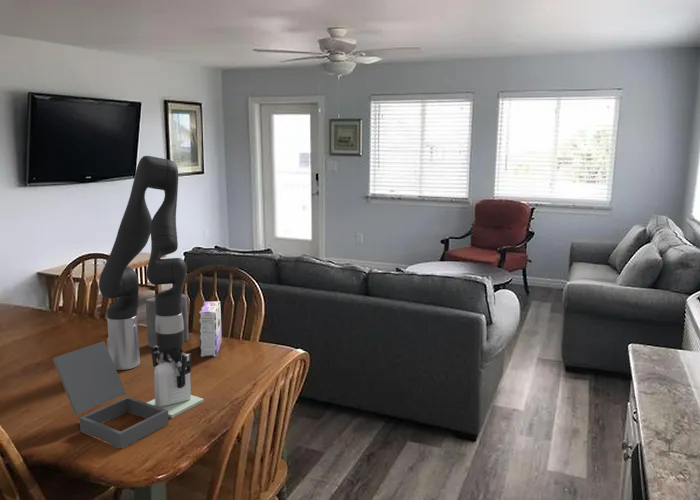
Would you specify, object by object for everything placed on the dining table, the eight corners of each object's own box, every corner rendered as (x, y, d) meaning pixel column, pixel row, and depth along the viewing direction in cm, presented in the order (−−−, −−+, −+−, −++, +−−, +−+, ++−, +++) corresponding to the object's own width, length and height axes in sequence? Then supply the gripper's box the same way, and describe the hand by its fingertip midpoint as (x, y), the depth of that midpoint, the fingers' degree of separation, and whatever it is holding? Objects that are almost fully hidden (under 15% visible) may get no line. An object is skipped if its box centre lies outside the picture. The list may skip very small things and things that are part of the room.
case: (80, 432, 151) (79, 417, 150) (128, 409, 163) (127, 396, 163) (121, 449, 143) (120, 434, 142) (168, 424, 155) (167, 410, 155)
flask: (185, 336, 224) (183, 286, 220) (190, 341, 219) (188, 289, 215) (145, 344, 215) (142, 291, 212) (150, 348, 211) (147, 295, 207)
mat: (142, 407, 165) (142, 404, 165) (174, 392, 175) (174, 389, 175) (172, 417, 159) (171, 415, 159) (203, 401, 169) (203, 398, 169)
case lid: (77, 414, 150) (74, 415, 151) (125, 393, 163) (122, 394, 164) (54, 357, 152) (51, 359, 153) (104, 340, 164) (101, 342, 165)
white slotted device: (187, 394, 172) (186, 354, 169) (193, 399, 168) (191, 359, 166) (153, 403, 166) (150, 362, 163) (158, 409, 162) (156, 367, 160)
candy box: (206, 343, 217) (204, 300, 214) (222, 343, 217) (220, 300, 214) (200, 357, 203) (198, 311, 200) (217, 356, 204) (215, 311, 201)
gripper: (198, 329, 162) (200, 385, 165) (162, 320, 170) (165, 374, 173) (177, 337, 156) (180, 395, 159) (141, 327, 163) (144, 383, 166)
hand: (172, 384), depth 166 cm, fingers open, 6 cm apart
